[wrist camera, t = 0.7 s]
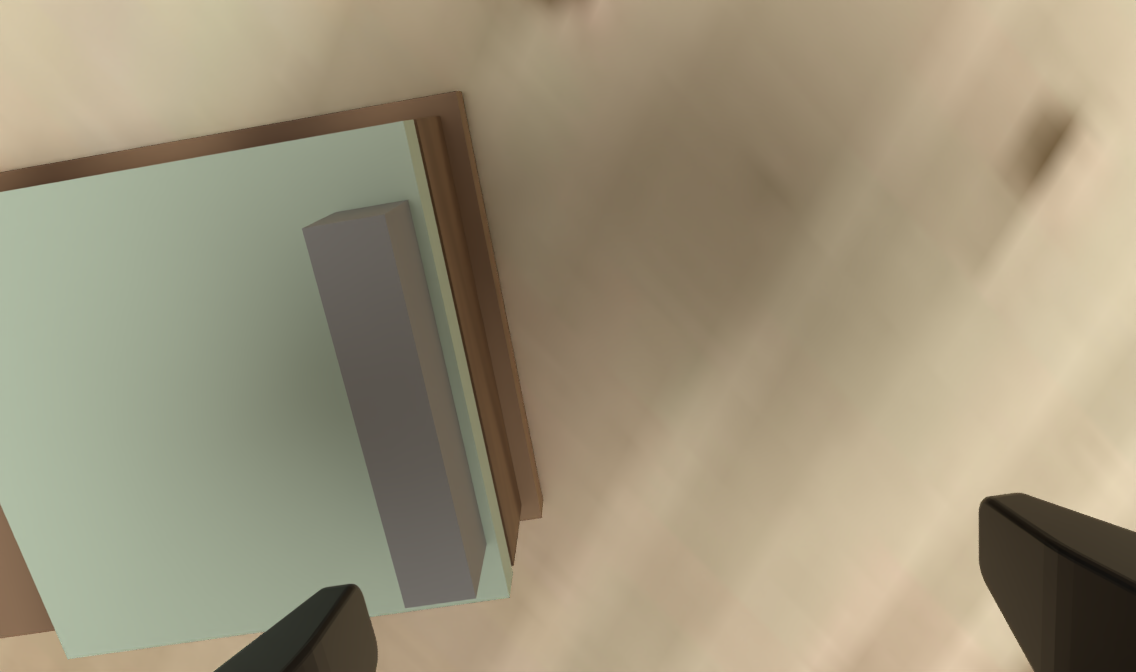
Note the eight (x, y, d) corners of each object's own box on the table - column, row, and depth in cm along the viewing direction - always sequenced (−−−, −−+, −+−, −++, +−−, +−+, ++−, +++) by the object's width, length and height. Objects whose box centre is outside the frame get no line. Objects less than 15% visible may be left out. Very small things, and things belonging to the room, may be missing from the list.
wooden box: (461, 91, 20) (434, 90, 16) (542, 500, 23) (536, 579, 20) (-357, 237, 21) (-562, 268, 17) (-163, 603, 25) (-299, 696, 21)
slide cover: (413, 119, 16) (378, 124, 13) (512, 572, 19) (502, 656, 16) (-85, 207, 17) (-224, 230, 14) (91, 632, 20) (10, 722, 17)
